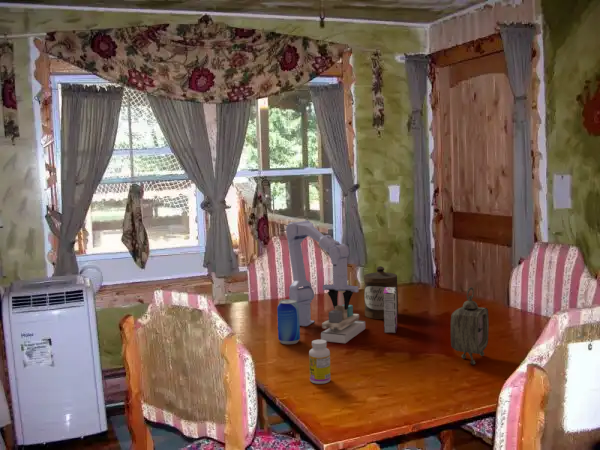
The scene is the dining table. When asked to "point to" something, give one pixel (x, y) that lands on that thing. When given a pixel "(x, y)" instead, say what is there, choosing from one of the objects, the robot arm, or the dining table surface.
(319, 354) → the supplement bottle
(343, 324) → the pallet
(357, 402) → the dining table surface
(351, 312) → the block
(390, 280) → the wooden container
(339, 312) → the grey cube
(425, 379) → the dining table surface
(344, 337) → the dock
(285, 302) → the beer can
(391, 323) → the candy bar box
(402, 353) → the dining table surface
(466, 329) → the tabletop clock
